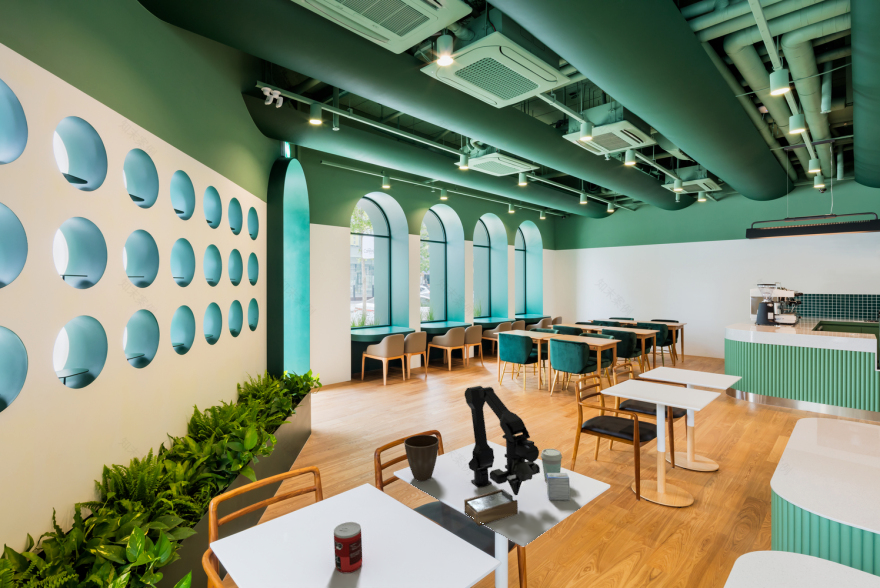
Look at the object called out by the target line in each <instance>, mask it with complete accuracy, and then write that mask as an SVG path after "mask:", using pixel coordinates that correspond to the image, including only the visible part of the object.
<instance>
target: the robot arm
mask: <svg viewBox="0 0 880 588" xmlns="http://www.w3.org/2000/svg"><path fill="white" fill-rule="evenodd" d="M464 397H465V402H466V405H467V406H468V407H469V409H470V410H471V420H472V429H473V436H474V446H473V449H472V452H471V453H472V458H471V460H470V461H469V462H468V468H469V470H471V471H473V477H474V479H471V480H470V482H471V483H472V484H474V485H475V486H476V487H477V488H482V487H485V486H486V487H487V486H489V485H492V484H493V483H492V481H493V482H494V483H496V484H497V485H501V484H504V483H506V482H508V484H509V485H510V488H511V490H512V493H513V495H514V496H518V494H519V491H520V488H521V487H522V482H526V481H528V480H529V481H531V480H532V479H533V476H534V475H537V474H540V473H541V468H540V466H539V464H537V463H536V462H535V461H537V460H538V458H539V455H540V449H539V447H538V446H537V445H535V442H534V441H533V440H530V438H531V436H530V432H529V431H528V429H527V427H526V424H525V423H524V421H523V419H522V418H521V417H520V416H519V415H517V413H514V412H512V411H510V410H509V409H508V407H507V406H506V405H505V403H504V402H503V401H502V400H501V399H500V397H499V396H498V395H497V394H496V393H495V390H494V388H493V387H492V386H487V387H483V386H482V385H476V386H471V387H467V388H466V389H465V391H464ZM485 404H487V405H488V406H489V408H490V409H491V411H492V412H493V413H494V414H495V416H496V417H497V419H498V420H499V426H500V428H501V430H502V432H503V433H504V434H503V435H502V436H501V437H502V439H504V440H505V445H506V446H505V447H506V448H505V449H506V453H504V458H506V464H505V465H504V468H505V469H506V470H504V471H503V470H501V469H500V468H497V469H493V470H491V471H490V472H489V469H492V468H493V465H494V462H495V455H494V448H493V447H491V446H490V445H489V444H488V439H487V429H486V422H485V415H484V406H485ZM489 479H490V480H492V481H490V480H489Z"/></svg>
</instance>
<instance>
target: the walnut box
mask: <svg viewBox="0 0 880 588" xmlns="http://www.w3.org/2000/svg"><path fill="white" fill-rule="evenodd" d="M502 489H503V488H501V489H498V490H495V491H491V492H486V493H484V494H480V495H479V494H478V495H476V496H472V497H469V498H465V499H464V500H463V501H464V513H465V514H466V513H467V514H468V515H469V516H471V517H469V516H468V515H467V514H466V515H467V516H468V517H469V519H471V520H472V521H473V522H474V523H475V525H477V526H478V527H481V526H484V525H487V524H490V523H493V522H497V521H500V520H502V519H506V518H509V517H512V516H515V515H518V514H519V511H518V510H519V507H518V506H519V504H518V500H517V499H513V500H514V501H511V502H508V503H504V504H501V505H498V506H494V507H491V508H488V509H484V510H481V511H478V512H477V513H476V512H475V511H474V510H473V509H472V508H471V507H470V506H469V505H468V504H467V502H468V501H472V500H475V499H479V498H482V497H486V496H489V495H493V494H496V493H500V492H502ZM472 517H473V518H474V519H473V518H472ZM480 522H481V523H480ZM482 523H484V524H482Z"/></svg>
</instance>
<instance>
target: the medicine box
mask: <svg viewBox="0 0 880 588" xmlns="http://www.w3.org/2000/svg"><path fill="white" fill-rule="evenodd" d="M546 475H547V482H546V493H547V498H548V501H570V500H571V492H570V491H571V490H570V489H571V487H570V477H569V475H568V473H567V472H560V473H546Z"/></svg>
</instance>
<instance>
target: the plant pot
mask: <svg viewBox="0 0 880 588" xmlns="http://www.w3.org/2000/svg"><path fill="white" fill-rule="evenodd" d="M403 443H404V449H405V454H406V459H407V463H408V465H409V468H410V472H411V474H412V476H413V478H414V480H416V481H417V480H418V482H426V481H429V480H431V478H432V477H433V474H434V471H435V470H434V469H435V467H436V462H437V457H438V452H439V443H440V439H439V438H438V437H437V436H435V435H430V434H417V435H412V436H409V437H407V438H405V439H404V441H403Z"/></svg>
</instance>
